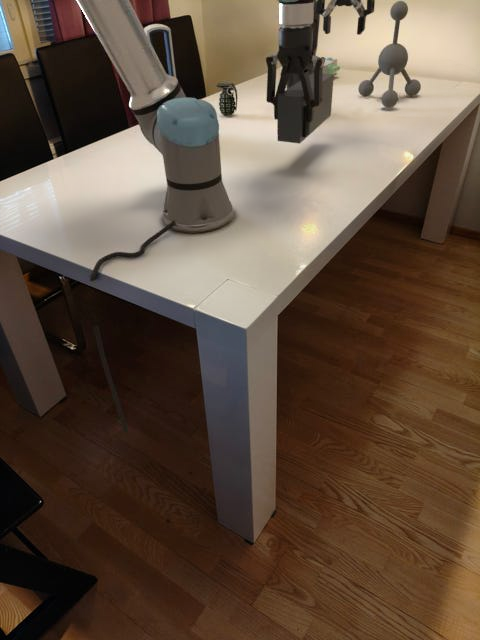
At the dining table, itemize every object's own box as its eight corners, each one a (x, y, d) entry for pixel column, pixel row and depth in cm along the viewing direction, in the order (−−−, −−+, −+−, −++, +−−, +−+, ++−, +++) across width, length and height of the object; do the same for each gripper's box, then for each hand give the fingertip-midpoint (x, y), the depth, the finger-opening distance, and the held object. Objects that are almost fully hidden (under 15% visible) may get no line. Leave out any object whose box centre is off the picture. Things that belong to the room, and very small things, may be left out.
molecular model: (440, 102, 169) (459, -1, 151) (386, 111, 163) (400, 6, 145) (398, 88, 187) (412, -5, 168) (348, 96, 181) (356, 0, 162)
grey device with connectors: (305, 54, 216) (346, 57, 206) (304, 70, 220) (345, 74, 210) (274, 66, 200) (317, 69, 190) (274, 83, 204) (316, 87, 194)
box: (299, 143, 118) (301, 97, 111) (277, 141, 120) (277, 95, 113) (330, 115, 135) (333, 73, 129) (310, 113, 137) (312, 72, 131)
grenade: (217, 117, 168) (214, 86, 162) (221, 112, 172) (219, 82, 166) (235, 117, 166) (233, 86, 160) (239, 113, 171) (238, 82, 165)
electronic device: (152, 140, 151) (135, 28, 133) (149, 133, 157) (132, 25, 139) (192, 134, 154) (180, 24, 135) (187, 128, 159) (175, 21, 141)
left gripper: (343, 23, 105) (334, 133, 120) (263, 22, 112) (264, 126, 126) (332, 28, 100) (325, 142, 114) (249, 27, 107) (252, 135, 121)
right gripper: (383, -47, 115) (374, 32, 125) (325, -45, 121) (322, 31, 131) (374, -46, 110) (366, 37, 120) (314, -43, 116) (311, 35, 126)
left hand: (293, 134), depth 120 cm, fingers closed on box, 6 cm apart
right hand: (343, 33), depth 125 cm, fingers open, 8 cm apart
